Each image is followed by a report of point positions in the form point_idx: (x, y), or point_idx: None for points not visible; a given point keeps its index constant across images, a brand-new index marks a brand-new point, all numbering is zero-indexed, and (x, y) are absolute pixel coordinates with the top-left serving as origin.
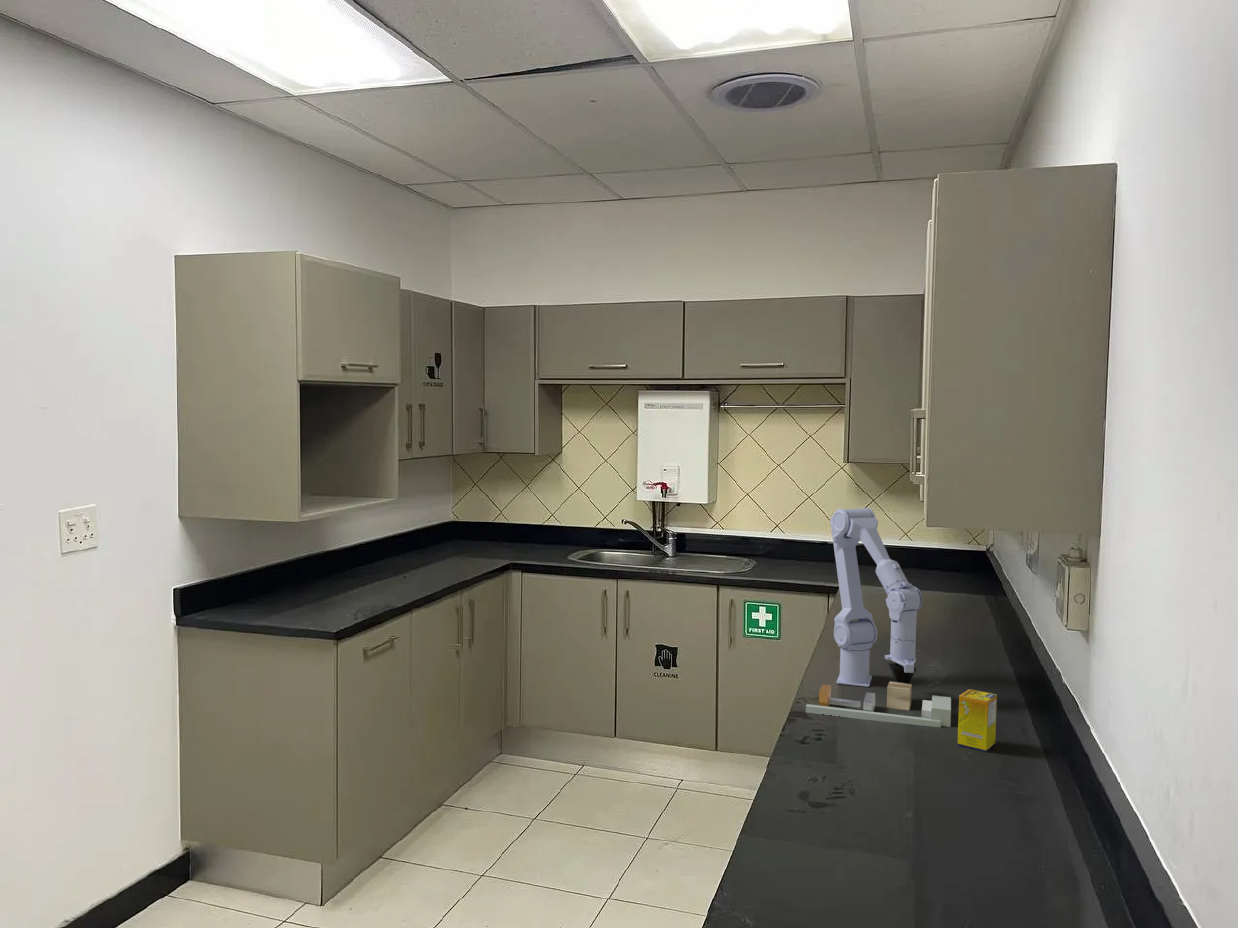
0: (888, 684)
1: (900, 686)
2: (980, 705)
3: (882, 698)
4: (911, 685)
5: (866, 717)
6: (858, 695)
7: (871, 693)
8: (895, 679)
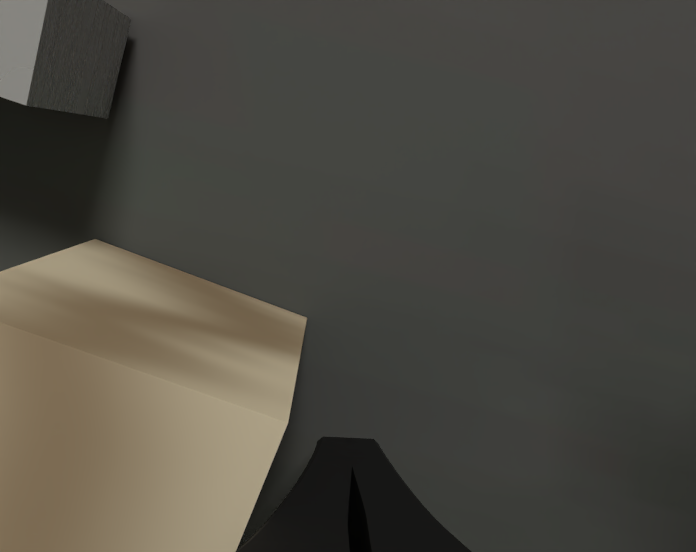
0: (100, 358)
1: (21, 514)
2: None
3: (436, 285)
4: None
5: None
6: (544, 40)
7: (7, 39)
8: (268, 530)
